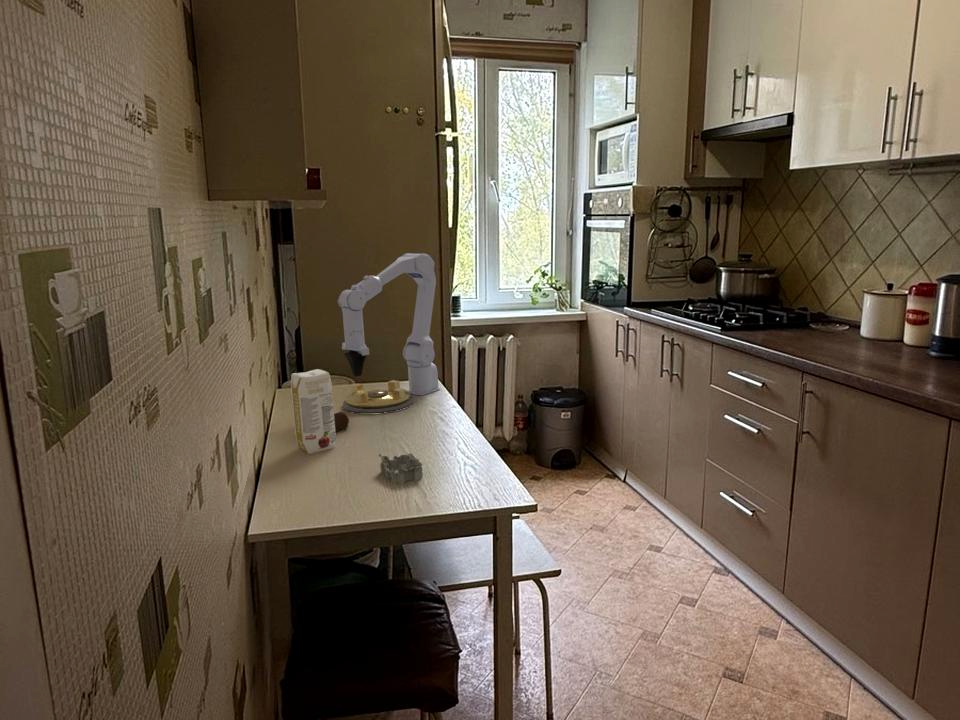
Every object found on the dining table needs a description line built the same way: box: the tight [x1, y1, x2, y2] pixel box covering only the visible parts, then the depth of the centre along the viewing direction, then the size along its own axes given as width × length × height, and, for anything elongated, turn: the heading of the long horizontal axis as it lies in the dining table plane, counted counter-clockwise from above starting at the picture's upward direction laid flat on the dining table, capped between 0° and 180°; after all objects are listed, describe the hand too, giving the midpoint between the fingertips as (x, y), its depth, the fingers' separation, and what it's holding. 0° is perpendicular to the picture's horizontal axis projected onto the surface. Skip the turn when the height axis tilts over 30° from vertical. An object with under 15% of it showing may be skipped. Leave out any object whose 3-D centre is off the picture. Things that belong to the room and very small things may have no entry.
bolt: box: [334, 411, 350, 433], centre depth 181 cm, size 6×5×15 cm
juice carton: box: [290, 368, 336, 455], centre depth 161 cm, size 8×9×19 cm
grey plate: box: [342, 394, 414, 414], centre depth 202 cm, size 21×21×1 cm
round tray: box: [345, 379, 411, 408], centre depth 201 cm, size 19×19×4 cm
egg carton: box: [378, 453, 424, 485], centre depth 144 cm, size 11×8×4 cm
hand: (357, 375), depth 199 cm, fingers closed
